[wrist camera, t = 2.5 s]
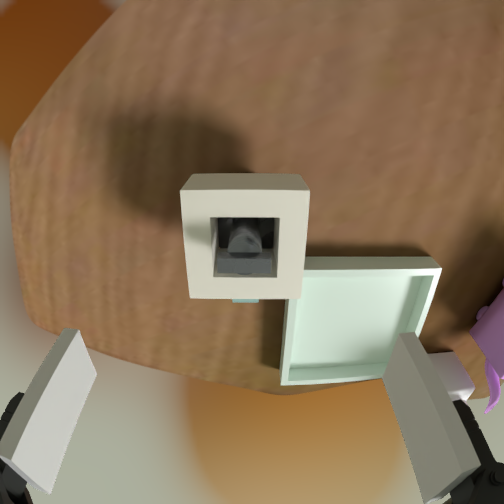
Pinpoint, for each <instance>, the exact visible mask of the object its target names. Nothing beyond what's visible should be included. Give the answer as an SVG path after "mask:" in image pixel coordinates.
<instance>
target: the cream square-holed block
mask: <svg viewBox="0 0 504 504" xmlns="http://www.w3.org/2000/svg"><path fill="white" fill-rule="evenodd" d="M180 198H181V212H182V224H183V235H184V246H185V257H186V266H187V276H188V285H189V294H190V298H206V299H232V300H233V302H259V299H301V292H302V282H303V272H304V261H305V250H306V238H307V226H308V213H309V199H310V190H309V188H308V187H307V185H306V183H305V182H304V180H303V178H302V177H301V175H300V174H273V173H213V174H192V175H191V177H190V178H189V179H188V180H187V182H186V183H185V184H184V186H183V187H182V188H181V190H180ZM218 217H274V243H273V249H262V252H264V253H271V273H252V274H249V275H240V274H237V273H218V272H217V255H218V252H227V251H228V248H219V237H218Z"/></svg>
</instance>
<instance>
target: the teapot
mask: <svg viewBox="0 0 504 504" xmlns="http://www.w3.org/2000/svg"><path fill="white" fill-rule="evenodd" d="M502 284H503V286H504V279H503V282H502ZM476 319H477V320H478V321H477V322H476V324H475V325H474V326H473V327H472V328H471V329H470V331H469V333H470V334H471V336H472V337H473V339H474V340H475V342H476V343H477V344H478V346H479V347H480V349H481V350H482V352H483V353H484V355H485V356H486V361H485V374H486V378H487V381H488V385H489V390H490V400H489V404H488V406H487V408H486V410H485V412H484V414H486V413H487V412H489V411H490V410H491V409H492V408H493V407H494V406H495V405H496V404H497V402H498V400H499V397H500V383H499V378H501V379H504V288H503V289H502V290H501V292H500V293H499V294H498V296H497V297H496V298H495V300H494V301H493V302H492V304H491V305H490V306H489V307H488V306H484V307H482V308H481V309H480V310H479V311H478V313H477V315H476Z"/></svg>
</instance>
